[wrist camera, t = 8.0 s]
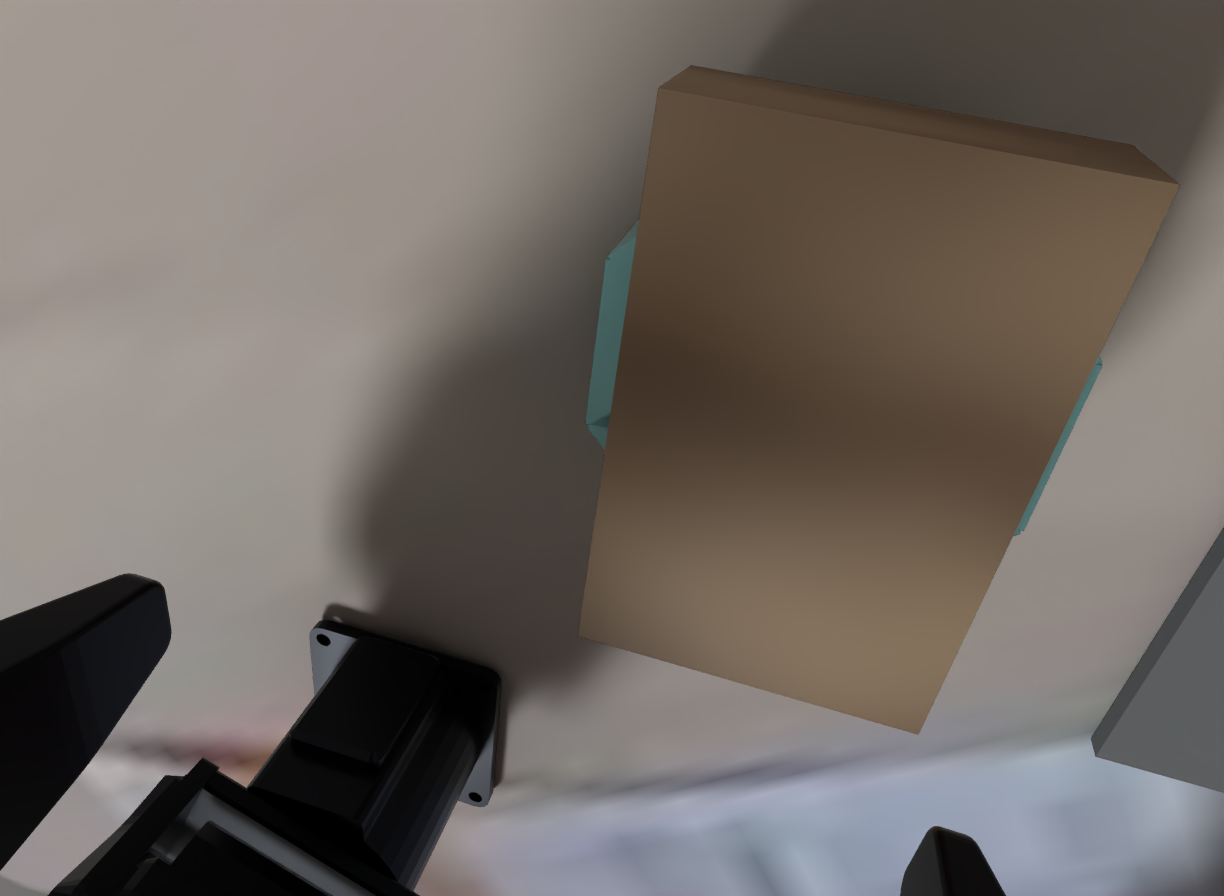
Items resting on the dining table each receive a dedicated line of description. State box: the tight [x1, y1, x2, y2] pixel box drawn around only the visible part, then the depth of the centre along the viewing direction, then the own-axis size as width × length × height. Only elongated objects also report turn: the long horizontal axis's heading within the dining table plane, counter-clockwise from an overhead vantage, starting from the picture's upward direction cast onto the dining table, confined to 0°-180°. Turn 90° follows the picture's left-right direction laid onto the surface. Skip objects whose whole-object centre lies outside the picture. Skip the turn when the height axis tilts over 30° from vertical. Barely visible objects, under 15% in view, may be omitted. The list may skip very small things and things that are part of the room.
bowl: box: [585, 220, 1102, 536], centre depth 17 cm, size 8×8×4 cm
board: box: [578, 65, 1180, 735], centre depth 15 cm, size 10×6×2 cm, turn 172°
